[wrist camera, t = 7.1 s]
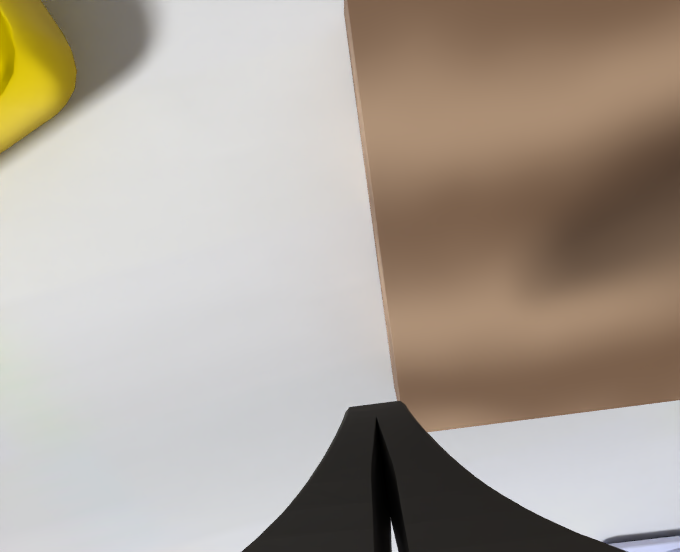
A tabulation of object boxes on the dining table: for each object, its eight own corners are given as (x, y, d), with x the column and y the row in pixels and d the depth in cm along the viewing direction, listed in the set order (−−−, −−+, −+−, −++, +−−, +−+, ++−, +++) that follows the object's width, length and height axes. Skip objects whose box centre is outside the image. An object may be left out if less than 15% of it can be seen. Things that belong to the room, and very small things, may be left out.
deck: (656, 352, 22) (723, 394, 18) (394, 386, 22) (404, 435, 18) (659, -40, 18) (746, -94, 14) (344, 13, 19) (344, -25, 15)
